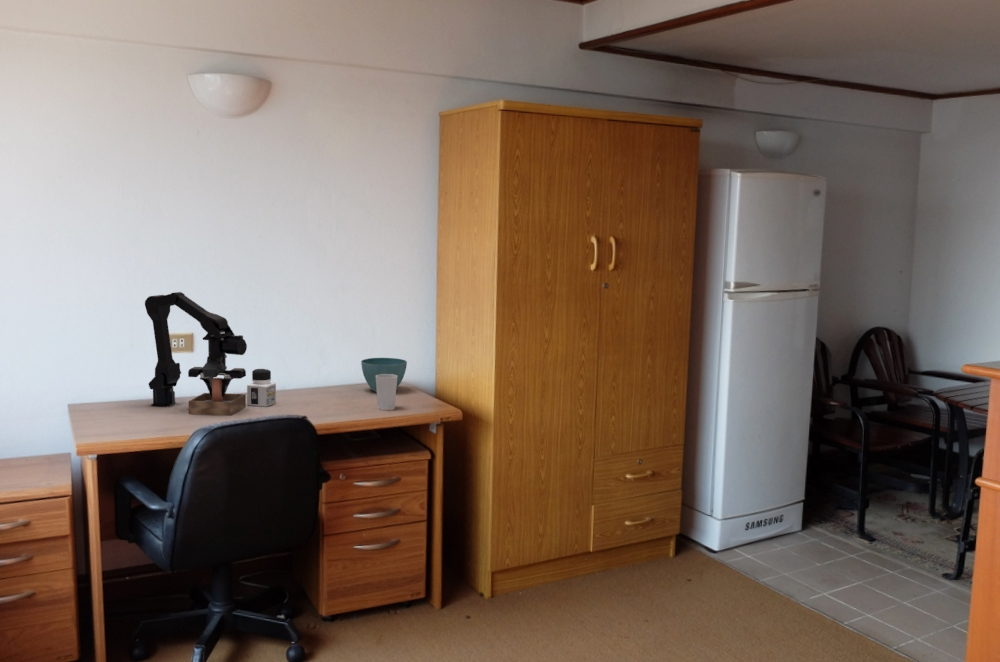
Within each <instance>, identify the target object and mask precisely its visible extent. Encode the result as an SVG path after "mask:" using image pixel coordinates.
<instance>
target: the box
mask: <svg viewBox="0 0 1000 662" xmlns="http://www.w3.org/2000/svg"><path fill="white" fill-rule="evenodd" d="M246 399H247V394H246V393H227V392H226V393H225V395H224V397H223V402H214V401H212V397H211V395H210V393H209V392H203V393H202V394H200V395H198V396H196V397H194V398H192V399H190V400H188V414H189V415H208V416H209V415H210V416H212V415H214V416H233V415H235V414H237V413H238V412H239V411H241V410H242V409H244V408H245V407H246V406H247V403H246V402H247V400H246Z"/></svg>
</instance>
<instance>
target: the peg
mask: <svg viewBox="0 0 1000 662" xmlns="http://www.w3.org/2000/svg"><path fill="white" fill-rule="evenodd" d="M223 378H224V377H223ZM223 378H222V377H213V378H212V401H214V402H223V397H222V379H223Z"/></svg>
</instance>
